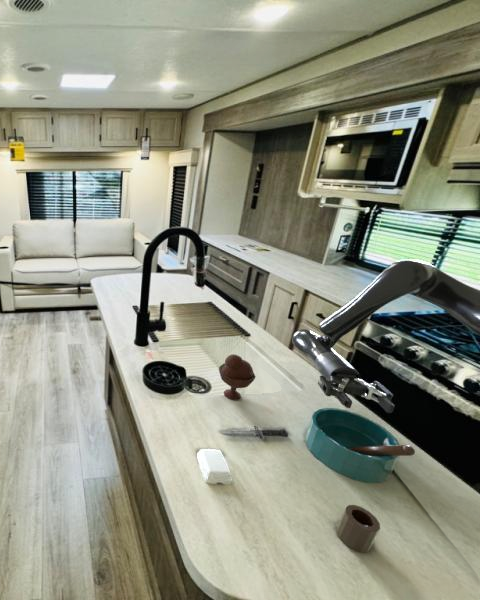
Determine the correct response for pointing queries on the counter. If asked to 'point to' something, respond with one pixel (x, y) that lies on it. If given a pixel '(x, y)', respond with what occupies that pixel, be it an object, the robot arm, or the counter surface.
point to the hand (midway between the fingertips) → (370, 407)
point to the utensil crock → (358, 528)
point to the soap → (214, 466)
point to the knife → (257, 433)
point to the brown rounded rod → (384, 450)
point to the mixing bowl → (350, 444)
